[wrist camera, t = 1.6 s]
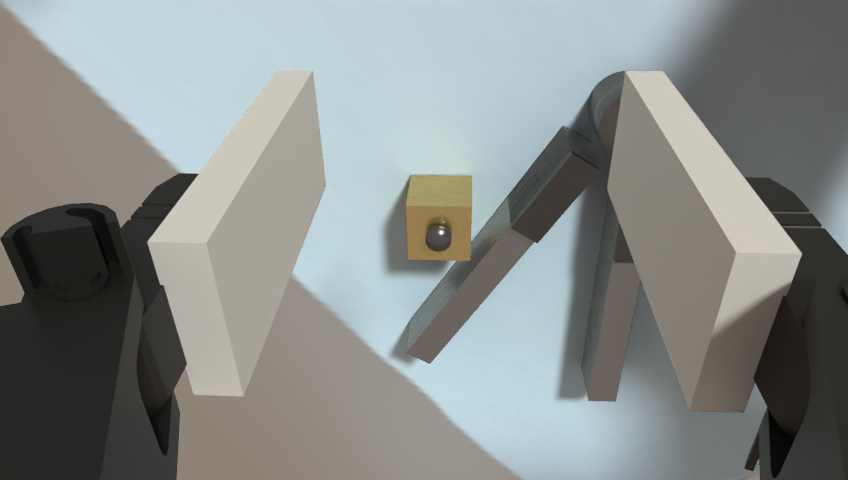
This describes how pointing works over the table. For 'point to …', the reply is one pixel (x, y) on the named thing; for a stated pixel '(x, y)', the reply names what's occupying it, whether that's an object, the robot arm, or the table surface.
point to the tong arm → (504, 241)
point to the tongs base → (609, 269)
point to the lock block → (439, 217)
